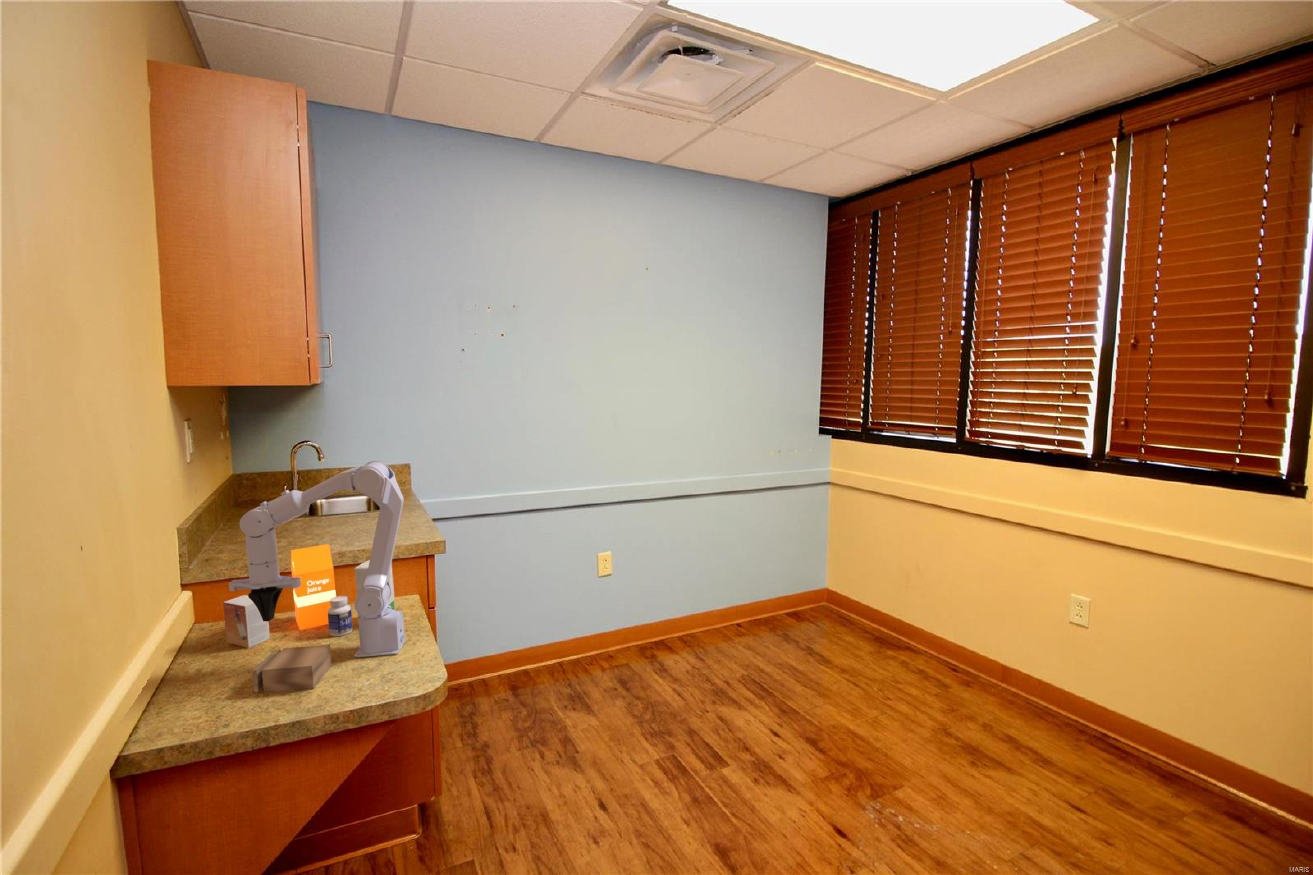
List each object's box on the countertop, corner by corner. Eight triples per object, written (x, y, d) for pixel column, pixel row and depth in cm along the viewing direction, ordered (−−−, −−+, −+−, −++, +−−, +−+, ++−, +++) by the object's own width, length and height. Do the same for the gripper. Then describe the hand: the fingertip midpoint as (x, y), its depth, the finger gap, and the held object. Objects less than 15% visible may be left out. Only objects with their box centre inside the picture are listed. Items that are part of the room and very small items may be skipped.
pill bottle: (343, 637, 153) (340, 602, 152) (324, 636, 154) (321, 601, 153) (357, 628, 158) (354, 595, 157) (339, 627, 159) (336, 594, 158)
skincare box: (382, 627, 158) (378, 568, 157) (357, 627, 159) (352, 568, 157) (396, 614, 167) (392, 558, 165) (372, 614, 167) (368, 558, 165)
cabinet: (331, 666, 138) (329, 644, 137) (313, 688, 128) (311, 665, 127) (285, 670, 136) (283, 648, 136) (263, 693, 126) (261, 670, 126)
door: (283, 668, 137) (281, 648, 136) (258, 691, 127) (256, 670, 126) (277, 668, 137) (275, 648, 136) (252, 691, 127) (250, 670, 126)
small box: (226, 643, 151) (221, 602, 150) (248, 634, 156) (244, 594, 155) (248, 648, 148) (244, 606, 147) (270, 639, 153) (266, 597, 152)
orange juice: (295, 620, 164) (289, 547, 162) (332, 612, 169) (326, 541, 167) (299, 630, 158) (293, 553, 155) (338, 621, 163) (332, 547, 161)
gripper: (217, 568, 134) (223, 628, 135) (287, 565, 134) (292, 625, 136) (237, 558, 141) (243, 615, 142) (303, 555, 141) (308, 612, 143)
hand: (268, 619), depth 139 cm, fingers closed
